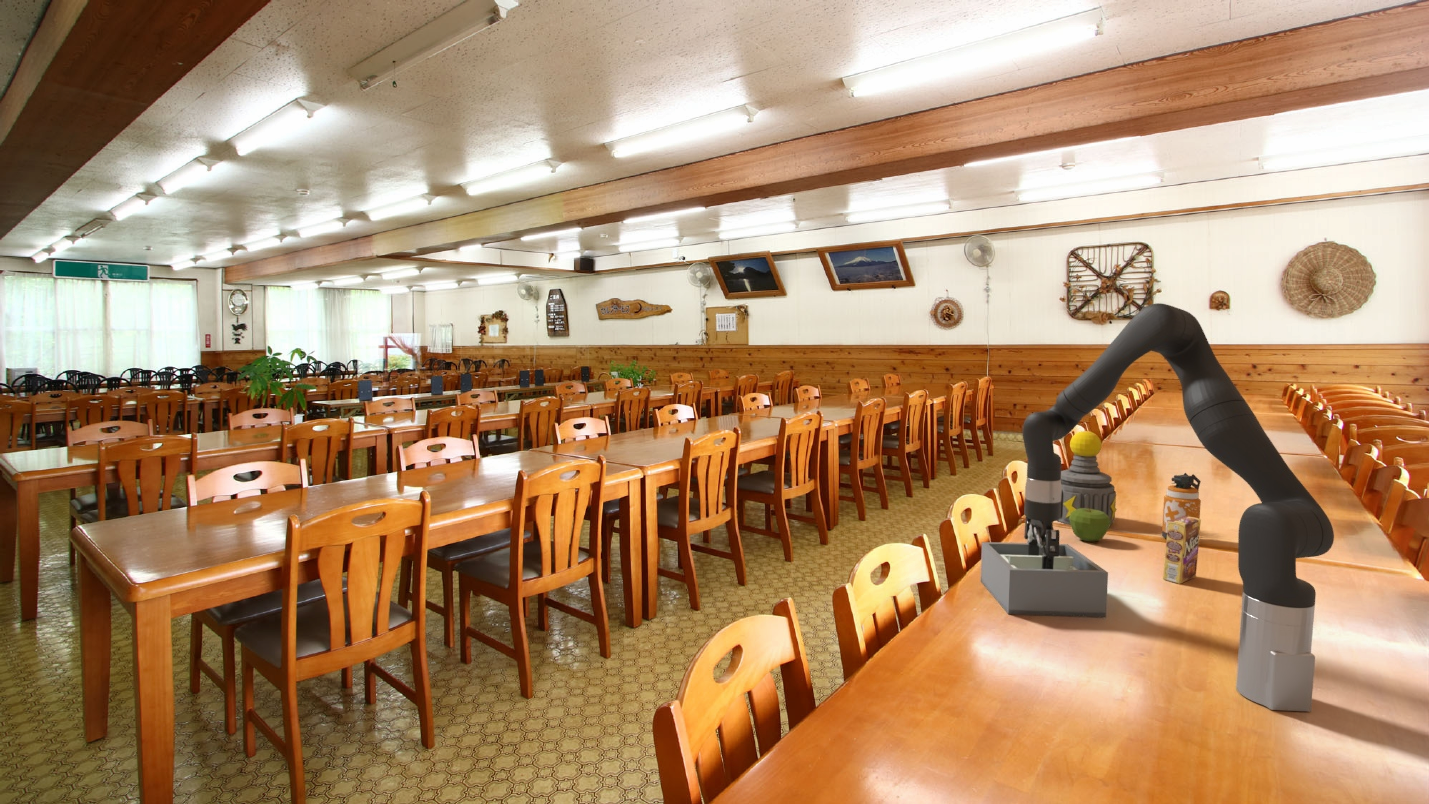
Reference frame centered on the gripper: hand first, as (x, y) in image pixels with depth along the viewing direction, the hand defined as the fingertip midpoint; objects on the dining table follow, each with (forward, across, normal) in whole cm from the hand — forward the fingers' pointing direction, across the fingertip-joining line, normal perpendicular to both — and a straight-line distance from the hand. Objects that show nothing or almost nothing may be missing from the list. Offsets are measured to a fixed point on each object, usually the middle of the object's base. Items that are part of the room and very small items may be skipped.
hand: (1040, 566), depth 157 cm
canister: (+8, +51, -60) cm, 79 cm away
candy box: (+8, +16, -40) cm, 44 cm away
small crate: (+7, 0, 0) cm, 7 cm away
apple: (+8, +48, -32) cm, 58 cm away
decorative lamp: (+8, +71, -40) cm, 82 cm away
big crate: (+8, 0, 0) cm, 8 cm away
